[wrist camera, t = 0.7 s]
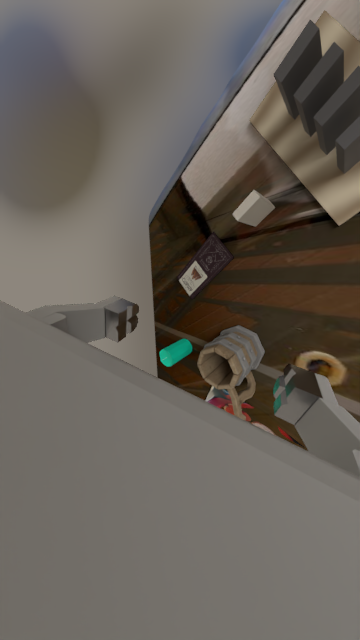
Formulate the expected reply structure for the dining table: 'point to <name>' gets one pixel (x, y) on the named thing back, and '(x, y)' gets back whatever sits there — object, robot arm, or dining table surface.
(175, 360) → the candle
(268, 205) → the domino
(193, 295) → the chocolate bar
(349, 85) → the domino
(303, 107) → the domino
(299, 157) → the birch board
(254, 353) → the tankard
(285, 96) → the domino
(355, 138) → the domino
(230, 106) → the dining table surface
